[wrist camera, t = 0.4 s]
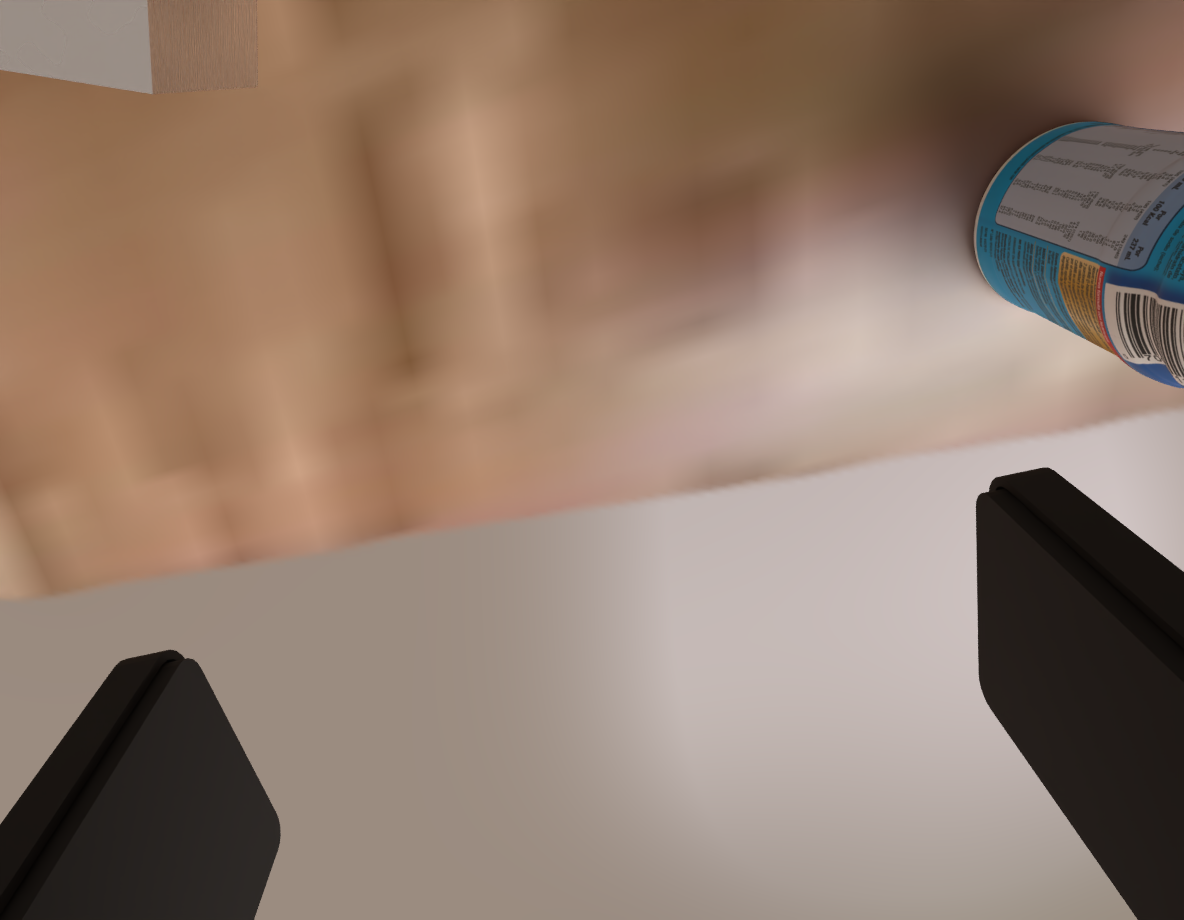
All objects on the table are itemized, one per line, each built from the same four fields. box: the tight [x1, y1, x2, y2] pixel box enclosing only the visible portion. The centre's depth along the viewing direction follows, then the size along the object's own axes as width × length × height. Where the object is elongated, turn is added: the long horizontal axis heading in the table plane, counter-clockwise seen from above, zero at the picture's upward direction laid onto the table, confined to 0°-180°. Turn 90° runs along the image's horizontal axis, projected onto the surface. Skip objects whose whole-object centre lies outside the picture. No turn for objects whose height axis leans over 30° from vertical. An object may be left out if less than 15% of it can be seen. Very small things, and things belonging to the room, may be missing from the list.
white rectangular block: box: [0, 0, 258, 94], centre depth 28 cm, size 4×6×10 cm, turn 81°
